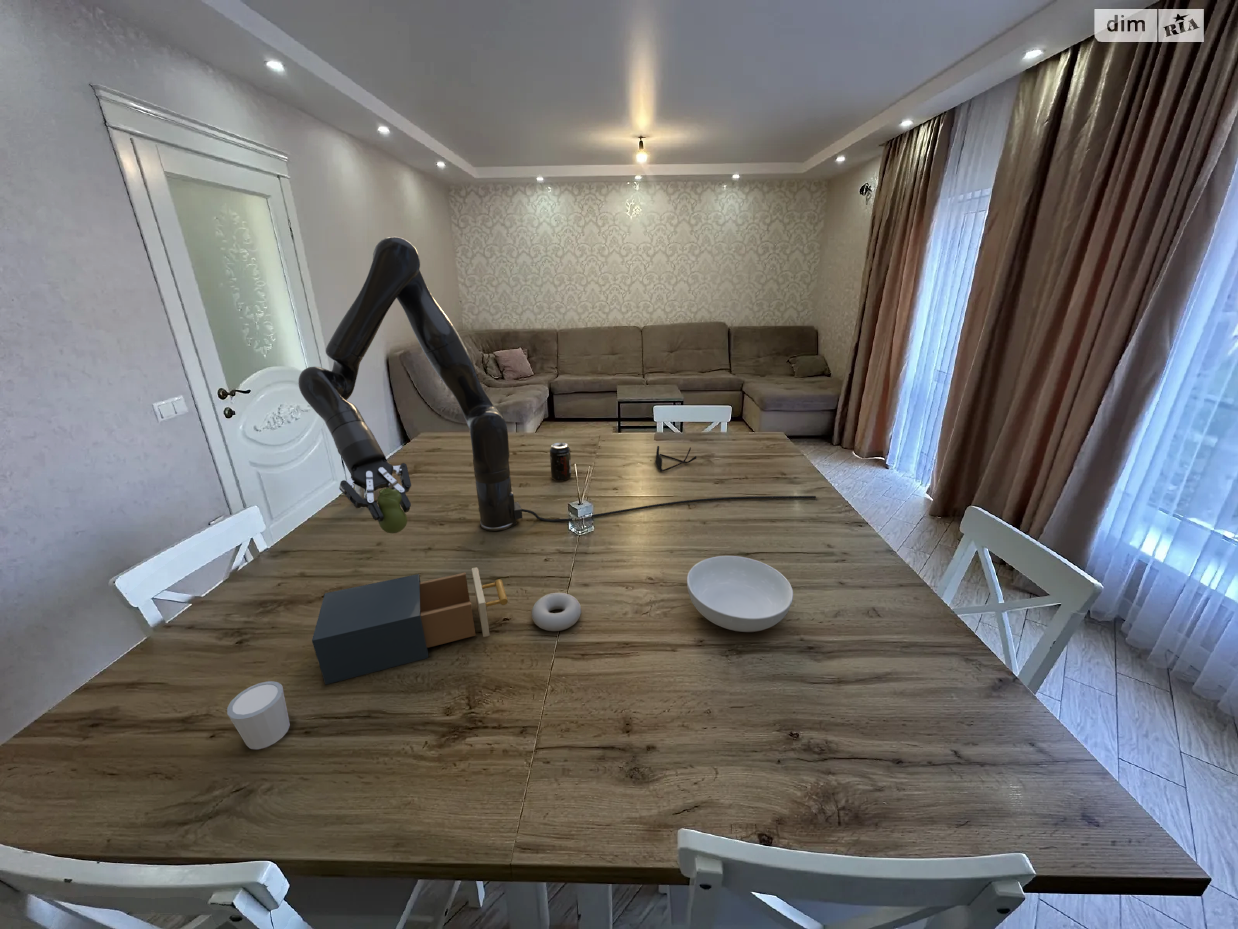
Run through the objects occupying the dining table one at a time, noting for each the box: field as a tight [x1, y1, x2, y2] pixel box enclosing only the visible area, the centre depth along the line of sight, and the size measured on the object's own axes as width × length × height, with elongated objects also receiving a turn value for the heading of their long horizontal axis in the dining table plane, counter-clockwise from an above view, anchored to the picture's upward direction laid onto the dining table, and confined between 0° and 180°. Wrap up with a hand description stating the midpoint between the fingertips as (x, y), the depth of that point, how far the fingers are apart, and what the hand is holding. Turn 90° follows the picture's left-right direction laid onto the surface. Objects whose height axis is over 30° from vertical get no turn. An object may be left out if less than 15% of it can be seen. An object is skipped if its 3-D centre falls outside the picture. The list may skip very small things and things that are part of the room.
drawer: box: [420, 567, 509, 649], centre depth 94 cm, size 20×12×8 cm, turn 112°
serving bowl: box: [686, 555, 794, 633], centre depth 99 cm, size 21×21×7 cm
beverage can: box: [549, 442, 572, 482], centre depth 162 cm, size 7×7×12 cm
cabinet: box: [311, 573, 429, 686], centre depth 90 cm, size 17×14×10 cm
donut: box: [531, 592, 582, 632], centre depth 98 cm, size 10×4×10 cm
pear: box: [376, 488, 408, 534], centre depth 101 cm, size 6×5×10 cm
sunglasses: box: [654, 445, 697, 473], centre depth 176 cm, size 17×14×5 cm
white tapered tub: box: [226, 680, 291, 750], centre depth 73 cm, size 7×7×7 cm
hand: (394, 514), depth 100 cm, fingers closed on pear, 5 cm apart
